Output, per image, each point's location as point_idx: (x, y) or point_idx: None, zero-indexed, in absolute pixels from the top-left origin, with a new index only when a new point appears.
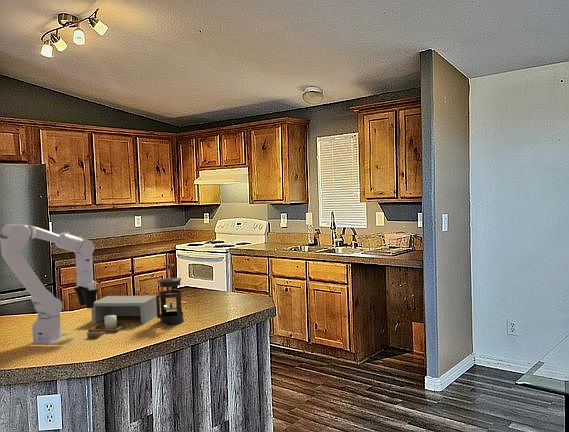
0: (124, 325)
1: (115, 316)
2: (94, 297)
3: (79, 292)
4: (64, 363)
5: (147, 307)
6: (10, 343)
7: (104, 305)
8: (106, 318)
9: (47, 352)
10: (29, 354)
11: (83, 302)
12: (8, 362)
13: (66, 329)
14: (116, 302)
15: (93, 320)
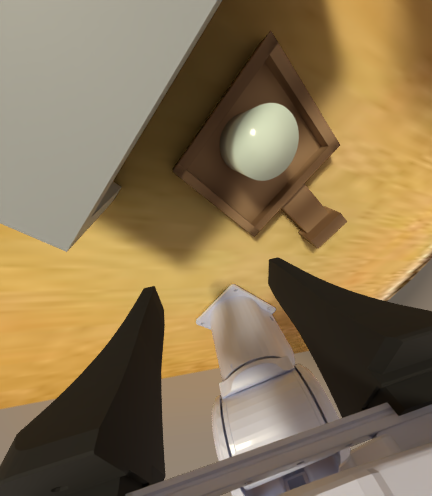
0: (299, 79)
1: (294, 118)
2: (342, 292)
3: (155, 409)
4: (400, 283)
5: None
6: (199, 365)
7: (129, 152)
8: (278, 172)
9: None
10: None
11: (158, 311)
12: None
13: (135, 284)
14: (165, 10)
15: (109, 202)
